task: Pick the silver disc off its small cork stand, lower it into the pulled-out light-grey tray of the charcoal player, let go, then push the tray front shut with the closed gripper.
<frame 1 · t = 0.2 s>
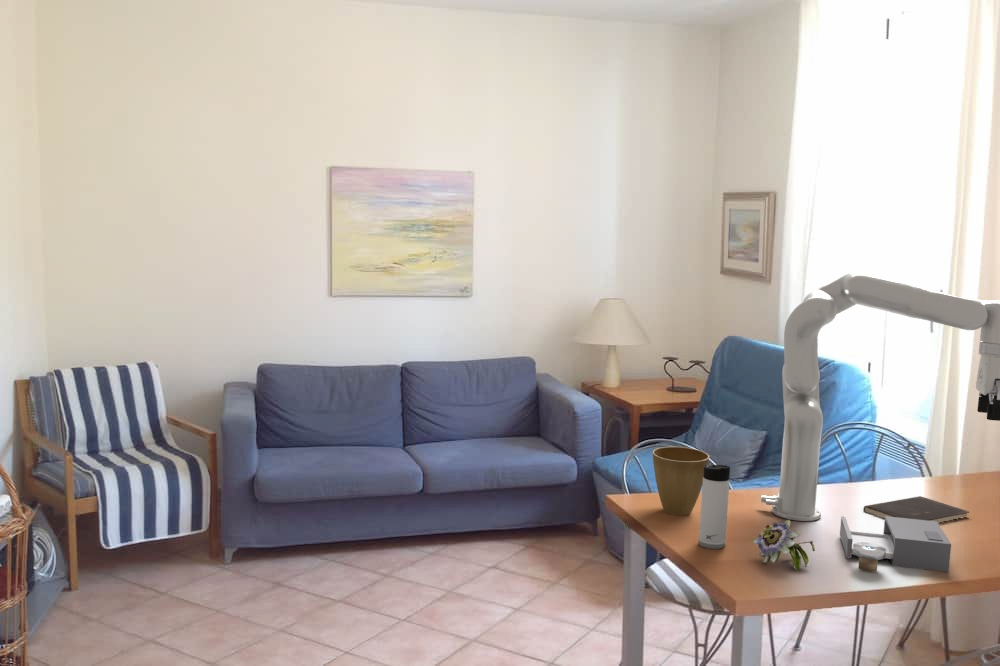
hand: (988, 416, 245), 31 cm above the table, tool pointing down, fingers open, 9 cm apart
housing: (914, 556, 230), on the table
travel mug: (712, 545, 233), on the table
tray: (870, 539, 233), point 3 cm above the table, slide at 9.0 cm
passion flower: (781, 562, 224), on the table
plant pot: (677, 512, 259), on the table
hardcover book: (915, 517, 264), on the table
disc: (868, 554, 220), point 3 cm above the table, touching stand
stand: (867, 568, 221), on the table
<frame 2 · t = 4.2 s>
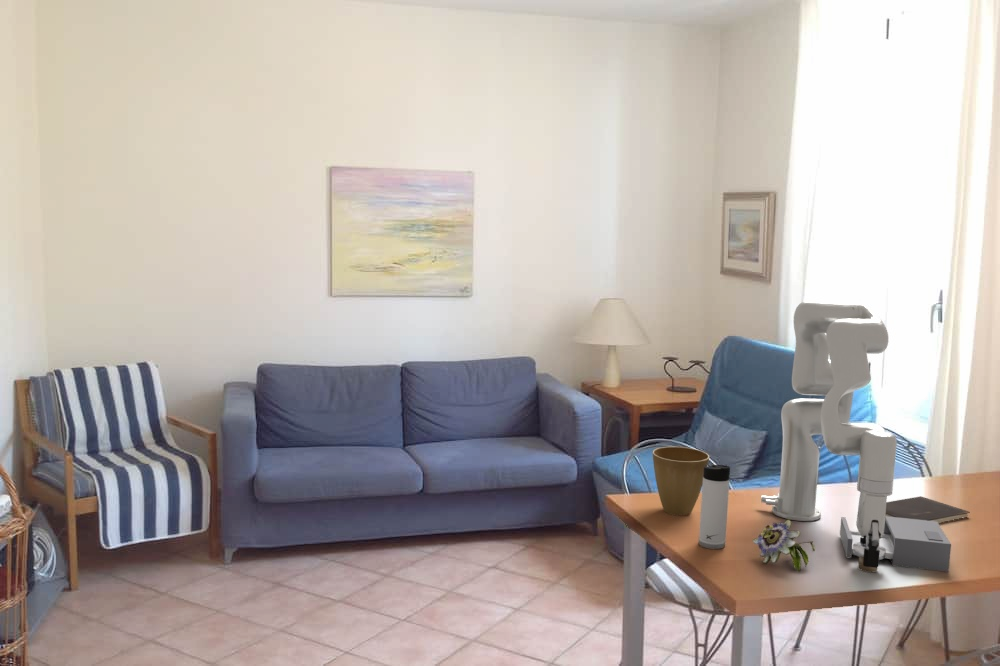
hand: (868, 560, 221), 2 cm above the table, tool pointing down, fingers closed on disc, 7 cm apart
disc: (868, 554, 220), point 3 cm above the table, touching gripper, stand
everything else where it was.
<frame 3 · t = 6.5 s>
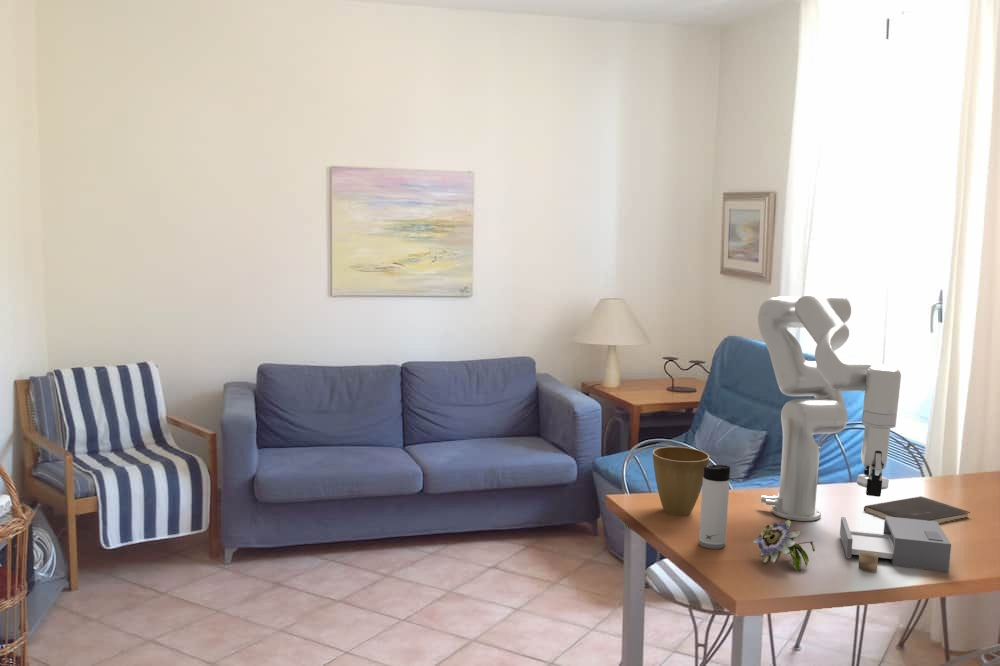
hand: (871, 490, 231), 15 cm above the table, tool pointing down, fingers closed on disc, 6 cm apart
disc: (872, 484, 230), point 17 cm above the table, touching gripper
everything else where it was.
when the fingers open (2 cm above the table, at t = 8.7 s): disc drops 2 cm, resting on tray.
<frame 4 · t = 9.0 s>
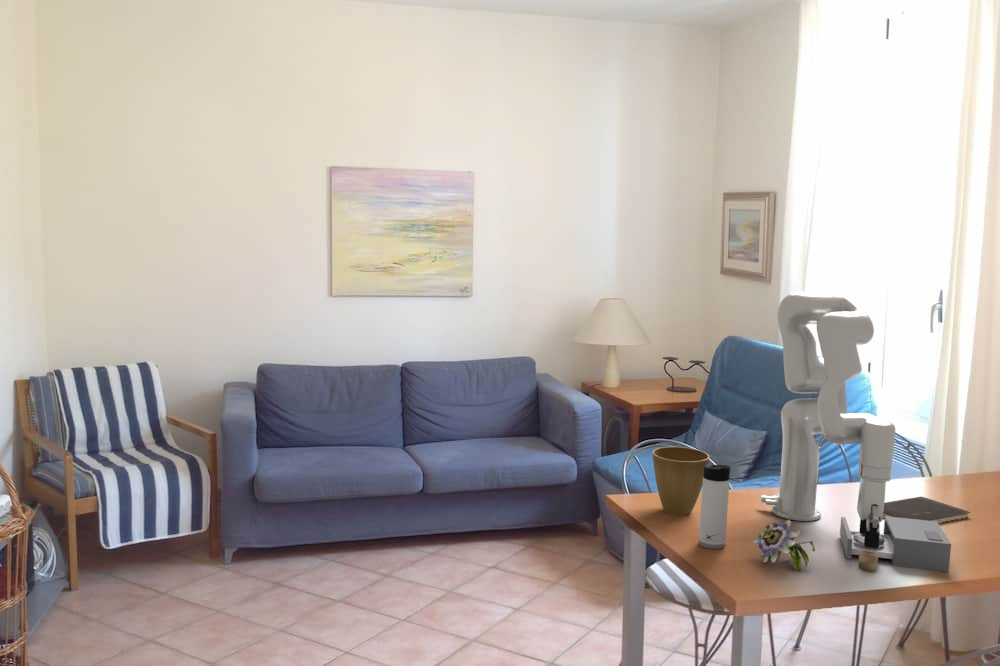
hand: (868, 540, 233), 3 cm above the table, tool pointing down, fingers open, 9 cm apart
tray: (870, 539, 233), point 3 cm above the table, slide at 9.0 cm, touching disc
disc: (868, 544, 233), point 2 cm above the table, touching tray
everything else where it was.
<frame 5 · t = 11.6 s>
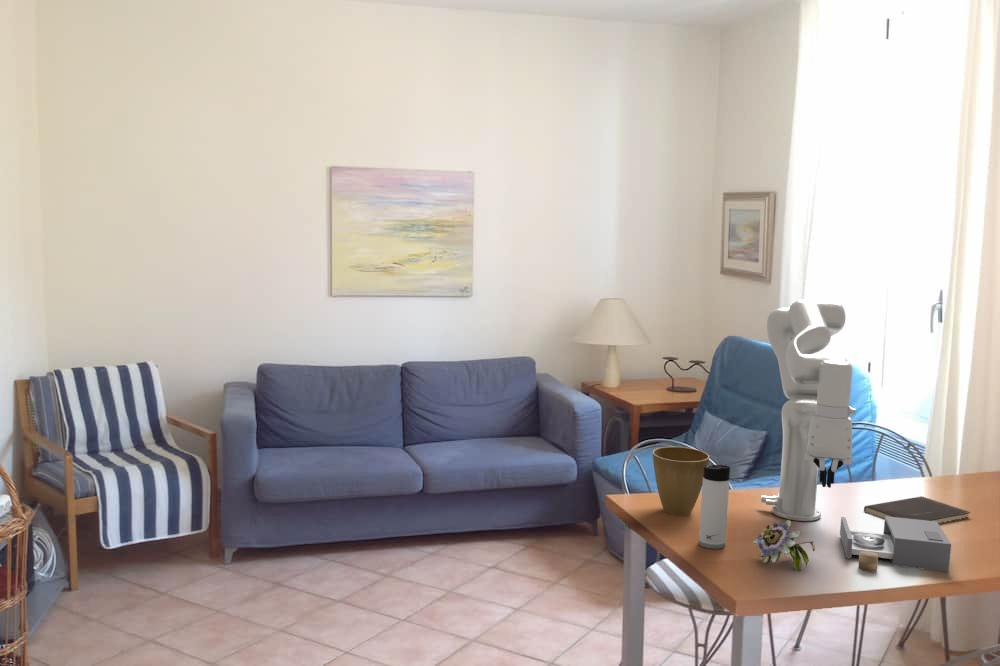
hand: (826, 485, 234), 15 cm above the table, tool pointing down, fingers closed
nothing on the table moved.
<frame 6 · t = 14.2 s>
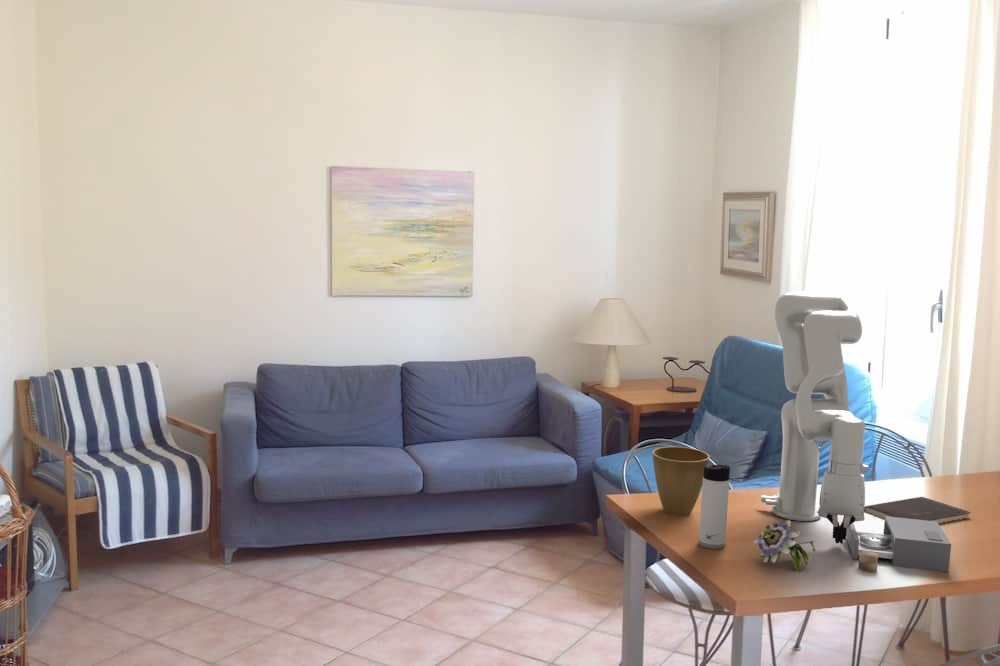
hand: (838, 541, 234), 2 cm above the table, tool pointing down, fingers closed
tray: (876, 540, 232), point 3 cm above the table, slide at 7.6 cm, touching disc, gripper
disc: (874, 544, 232), point 2 cm above the table, touching tray
everything else where it was.
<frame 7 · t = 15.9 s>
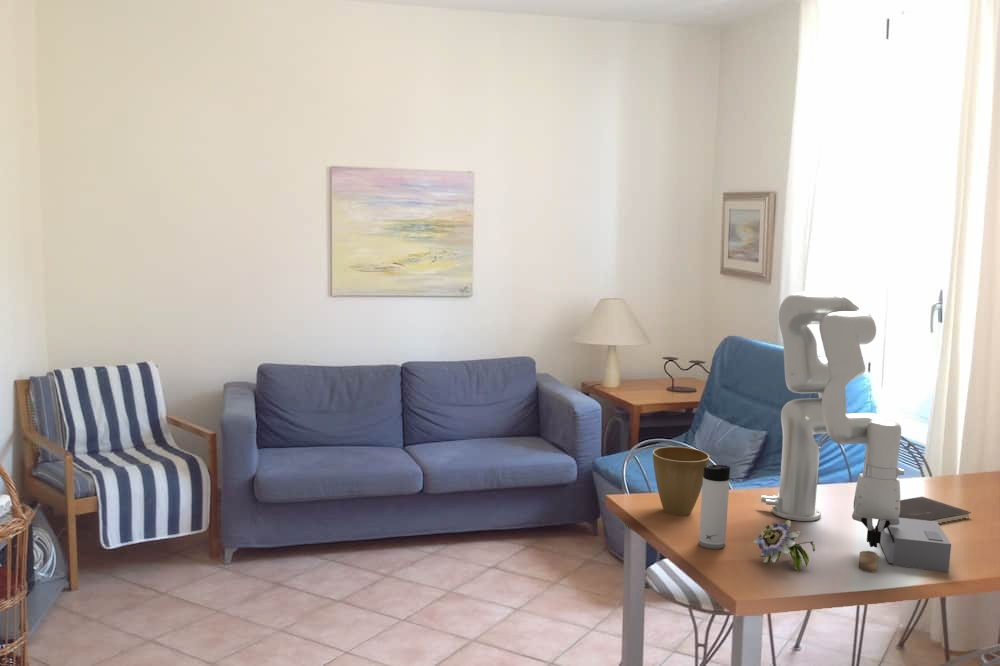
hand: (873, 545, 233), 2 cm above the table, tool pointing down, fingers closed
tray: (911, 544, 230), point 3 cm above the table, slide at -0.2 cm, touching disc, gripper, housing
disc: (909, 548, 231), point 2 cm above the table, touching tray
everything else where it was.
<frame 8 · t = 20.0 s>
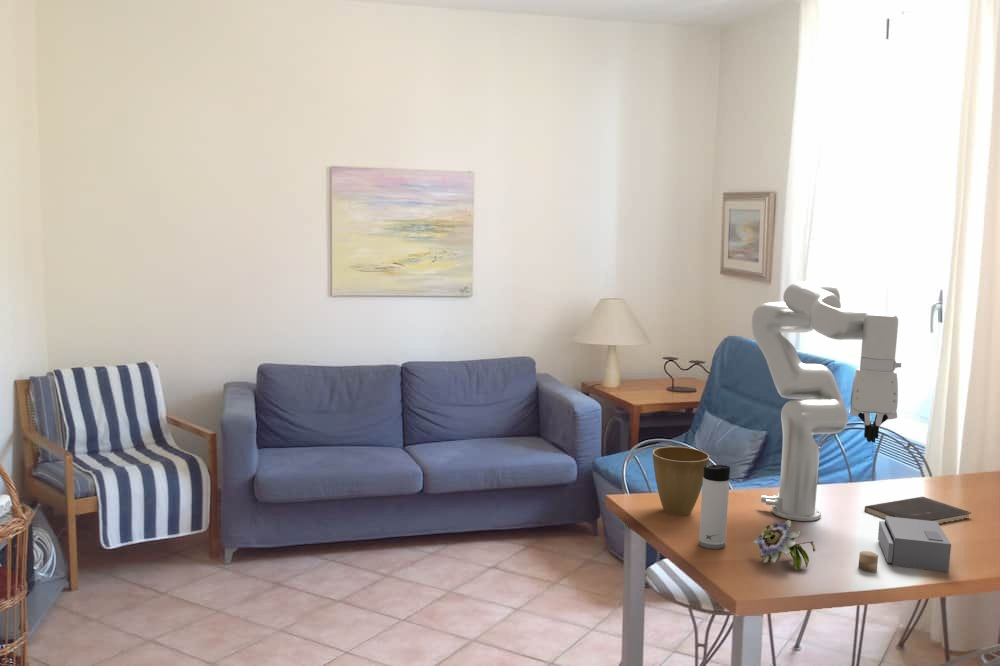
hand: (870, 440, 230), 27 cm above the table, tool pointing down, fingers closed
tray: (910, 543, 230), point 3 cm above the table, slide at 0.0 cm, touching disc
everything else where it was.
at the end: tray slide at 0.0 cm; disc inside the target area on the housing (0.0 cm from its centre), point 1.7 cm above the housing's base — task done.
